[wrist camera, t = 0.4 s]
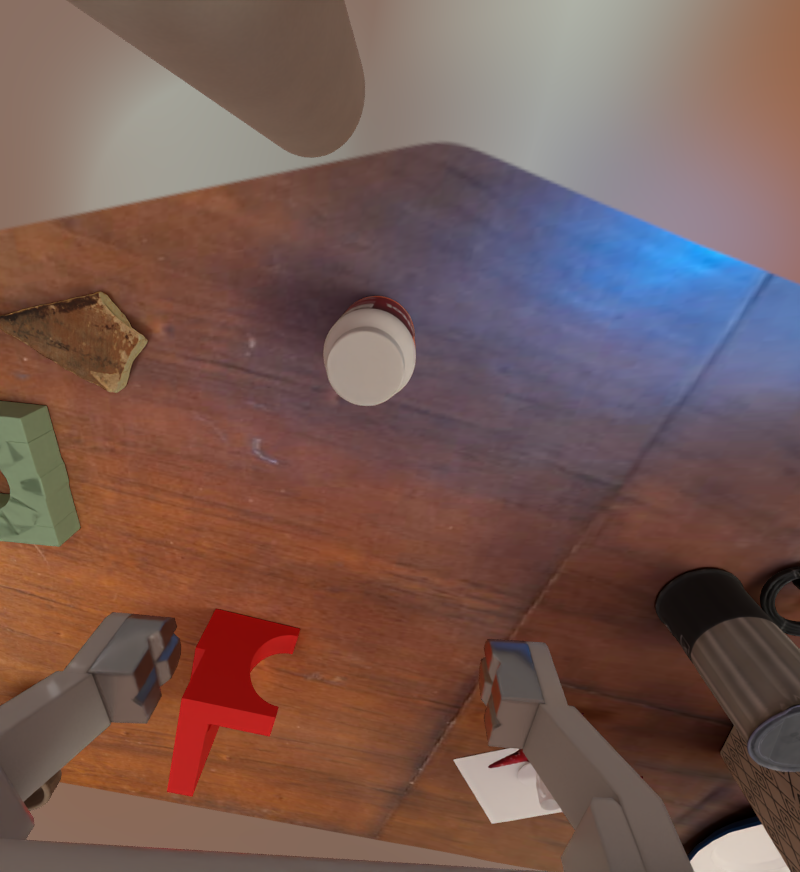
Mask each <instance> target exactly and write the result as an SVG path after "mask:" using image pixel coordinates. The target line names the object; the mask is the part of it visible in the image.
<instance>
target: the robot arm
mask: <svg viewBox="0 0 800 872" xmlns="http://www.w3.org/2000/svg"><path fill="white" fill-rule="evenodd" d="M176 628H177V625H176V621H175V618H170V617H160V616H149V615H139V614H128V613H115V612H113V613H111V614H110V615H108V616H107V617H106V618H105V619H104V620H103V621H102V623H101V624H100V625H99V626H98V628H97V629H96V630H95V631H94V633H93V634H92V635H91V637H90V638H89V639H88V640H87V642H86V643H85V644H84V645H83V647H82V648H81V649H80V650H79V652H78V653H77V654H76V655H75V657H74V658H73V659H72V660H71V662H70V663H69V664H68V665H67V667H66V668H65V669H64V671H56V672H55V673H53V674H51V675H50V676H48V677H46V678H45V679H43V680H42V681H40V682H38V683H37V684H35V685H34V686H32V687H30V688H29V689H27V690H25V691H24V692H22V693H21V694H19V695H17V696H16V697H14V698H13V699H11V700H9V701H8V702H6V703H4V704H3V705H1V706H0V872H546V871H529V870H513V869H496V868H480V867H464V866H447V865H431V864H415V863H398V862H397V863H396V862H382V861H365V860H349V859H333V858H315V857H299V856H282V855H267V854H251V853H233V852H218V851H217V852H216V851H202V850H185V849H168V848H152V847H135V846H134V847H133V846H117V845H102V844H85V843H69V842H51V841H36V840H26V838H27V837H28V835H29V833H30V832H31V830H32V829H33V827H34V818H33V816H32V815H31V813H30V812H29V810H28V808H27V807H26V805H25V804H24V801H25V800H26V799H27V798H28V797H30V796H31V795H32V794H33V793H34V792H35V791H36V790H37V789H39V788H40V787H41V786H42V785H43V784H44V783H45V782H46V781H48V780H49V779H50V778H51V777H52V776H53V775H54V774H56V773H57V772H58V771H59V770H60V769H61V768H62V767H63V766H65V765H66V764H67V763H68V762H69V761H70V760H71V759H72V758H74V757H75V756H76V755H77V754H78V753H79V752H80V751H81V750H83V749H84V748H85V747H86V746H87V745H88V744H89V743H91V742H92V741H93V740H94V739H95V738H96V737H97V736H98V735H100V734H101V733H102V732H103V731H104V730H105V729H106V728H107V727H109V726H110V725H111V723H110V722H117V723H146V724H147V722H148V720H149V719H150V717H151V715H152V713H153V711H154V709H155V707H156V706H157V704H158V702H159V700H160V698H161V696H162V694H161V688H160V686H162V685H163V684H164V683H166V682H167V681H168V680H169V679H171V678H172V676H173V674H174V672H175V670H176V668H177V665H178V662H179V658H180V655H181V642H180V639H179V638H178V637H177V636H176V635H175V634H174V631H175V630H176ZM484 652H485V657H484V658H483V659H481V663H480V668H479V689H480V696H481V700H482V701H483V702H484V704H485V705H486V706H487V707H486V711H485V715H484V722H485V728H486V734H487V740H488V746H494V747H504V748H515V749H523V753H524V754H525V756H526V757H527V759H528V760H529V762H530V763H531V765H532V766H533V768H534V769H535V771H536V772H537V774H538V775H539V777H540V778H541V780H542V781H543V783H544V784H545V786H546V787H547V789H548V790H549V792H550V793H551V795H552V796H553V798H554V799H555V801H556V802H557V804H558V805H559V807H560V808H561V810H562V811H563V813H564V814H565V816H566V818H567V819H568V821H569V822H570V824H571V825H572V827H573V828H574V830H575V832H574V834H573V836H572V838H571V839H570V841H569V843H568V845H567V847H566V849H565V851H564V852H563V854H562V856H561V860H562V864H563V868H564V872H694V870H693V868H692V865H691V863H690V861H689V859H688V856H687V854H686V852H685V850H684V847H683V845H682V843H681V841H680V839H679V836H678V834H677V832H676V830H675V827H674V825H673V823H672V821H671V818H670V816H669V814H668V812H667V809H666V807H665V805H664V803H663V801H662V799H661V798H660V797H659V796H658V795H657V794H656V793H655V792H654V791H653V790H652V789H651V787H650V786H649V785H648V784H647V783H646V782H645V781H644V780H643V779H642V778H641V777H640V776H639V775H638V774H637V773H636V772H635V771H634V769H633V768H632V767H631V766H630V765H629V764H628V763H627V762H626V761H625V760H624V759H623V758H622V757H621V756H620V755H619V754H618V753H617V751H616V750H615V749H614V748H613V747H612V746H611V745H610V744H609V743H608V742H607V741H606V740H605V739H604V738H603V737H602V736H601V734H600V733H599V732H598V731H597V730H596V729H595V728H594V727H593V726H592V725H591V724H590V723H589V722H588V721H587V720H586V719H585V718H584V716H583V715H582V714H581V713H580V712H579V711H578V710H577V709H576V708H575V707H574V706H568V704H567V701H566V698H565V696H564V693H563V690H562V687H561V684H560V681H559V678H558V675H557V672H556V669H555V666H554V663H553V661H552V658H551V655H550V652H549V649H548V646H547V645H546V644H545V643H541V642H524V641H516V640H498V639H487V641H486V642H485V646H484Z"/></svg>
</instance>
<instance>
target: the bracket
mask: <svg viewBox="0 0 800 872" xmlns="http://www.w3.org/2000/svg"><path fill="white" fill-rule="evenodd" d="M299 631H300V629H299V628H295V627H290V626H286V625H282V624H278V623H274V622H269V621H265V620H261V619H257V618H253V617H249V616H244V615H240V614H236V613H232V612H228V611H223V610H219V609H215V611H214V613H213V615H212V617H211V619H210V621H209V623H208V625H207V627H206V629H205V631H204V633H203V635H202V637H201V638H200V640H199V642H198V644H197V646H196V649H195V655H194V661H193V667H192V673H191V679H190V682H189V684H188V686H187V688H186V690H185V692H184V695H183V697H182V700H181V706H180V713H179V719H178V726H177V732H176V738H175V745H174V751H173V757H172V764H171V770H170V777H169V783H168V789H167V792H171V793H176V794H182V795H187V796H193V793H194V791H195V788H196V786H197V783H198V780H199V778H200V775H201V773H202V770H203V768H204V765H205V762H206V760H207V757H208V755H209V752H210V749H211V747H212V744H213V742H214V739H215V736H216V734H217V731H218V729H219V726H222V727H226V728H231V729H236V730H241V731H246V732H251V733H256V734H260V735H265V736H270V734H271V731H272V727H273V724H274V721H275V718H276V715H277V711H278V707H277V706H274V705H271V704H269V703H267V702H266V701H264V700H263V699H262V698H261V697H260V696H259V695H258V694H257V693H256V691H255V690H254V688H253V686H252V683H251V679H250V672H251V671H252V669H253V668H254V667H255V666H256V665H257V664H258V663H259V662H260V661H261V660H263V659H265V658H266V657H269V656H271V655H274V654H280V653H289V654H293V651H294V648H295V645H296V641H297V638H298V635H299Z"/></svg>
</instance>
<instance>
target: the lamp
mask: <svg viewBox="0 0 800 872" xmlns="http://www.w3.org/2000/svg"><path fill="white" fill-rule="evenodd" d="M720 755H721V757H722V758H723V760H724V762H725V763H726V765H727V767H728V768H729V770H730V772H731V773H732V775H733V777H734V778H735V780H736V782H737V783H738V785H739V787H740V788H741V790H742V792H743V793H744V795H745V797H746V798H747V800H748V802H749V803H750V805H751V807H752V808H753V810H754V812H755V813H756V815H757V817H758V818H759V820H760V822H761V823H762V825H763V827H764V828H765V830H766V832H767V833H768V835H769V837H770V838H771V840H772V842H773V843H774V845H775V847H776V848H777V850H778V852H779V853H780V855H781V856H782V858H783V860H784V861H785V863H786V865H787V866H788V868H789V870H790V871H791V872H800V772H781V771H776V770H772V769H768V768H765V767H763V766H761V765H758V764H757V763H756V762H755V761H754V760H753V759H752V758H751V757H750V756H749V754H748V751H747V744H746V742H745V741H744V739H743V738H742V736H741V735H740V733H739V732H738V730H737V729H736V727H735V726H733V728H732V730H731V732H730V734H729V736H728V738H727V740H726V742H725V744H724V746H723V748H722V750H721V752H720Z"/></svg>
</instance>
